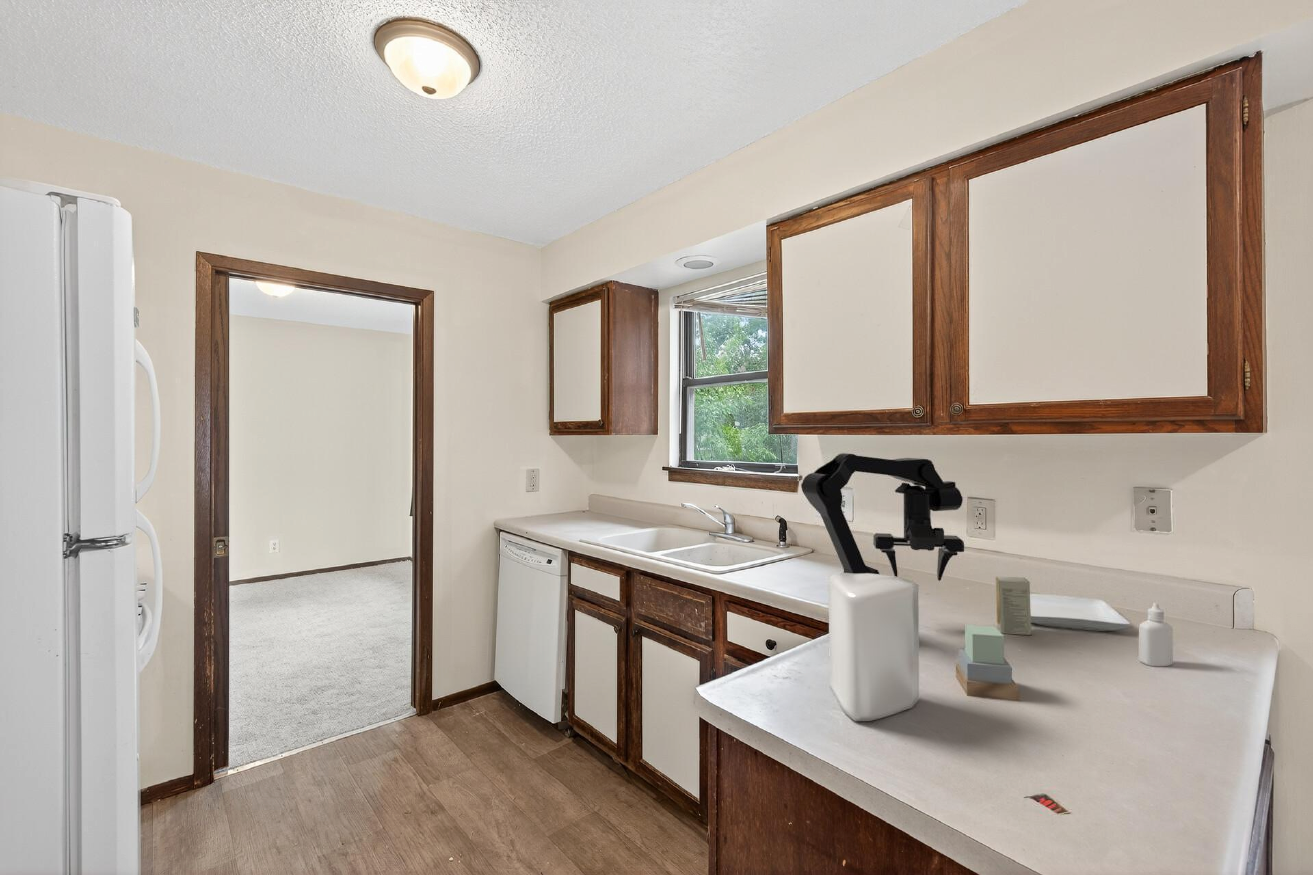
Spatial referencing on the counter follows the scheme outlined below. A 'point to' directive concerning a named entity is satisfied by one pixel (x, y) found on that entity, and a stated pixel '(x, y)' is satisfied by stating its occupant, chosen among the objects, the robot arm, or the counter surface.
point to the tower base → (987, 688)
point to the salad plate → (1075, 613)
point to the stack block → (984, 644)
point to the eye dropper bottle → (1155, 639)
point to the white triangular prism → (873, 644)
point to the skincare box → (1013, 605)
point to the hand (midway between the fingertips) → (917, 579)
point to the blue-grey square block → (985, 670)
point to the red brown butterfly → (1049, 803)
